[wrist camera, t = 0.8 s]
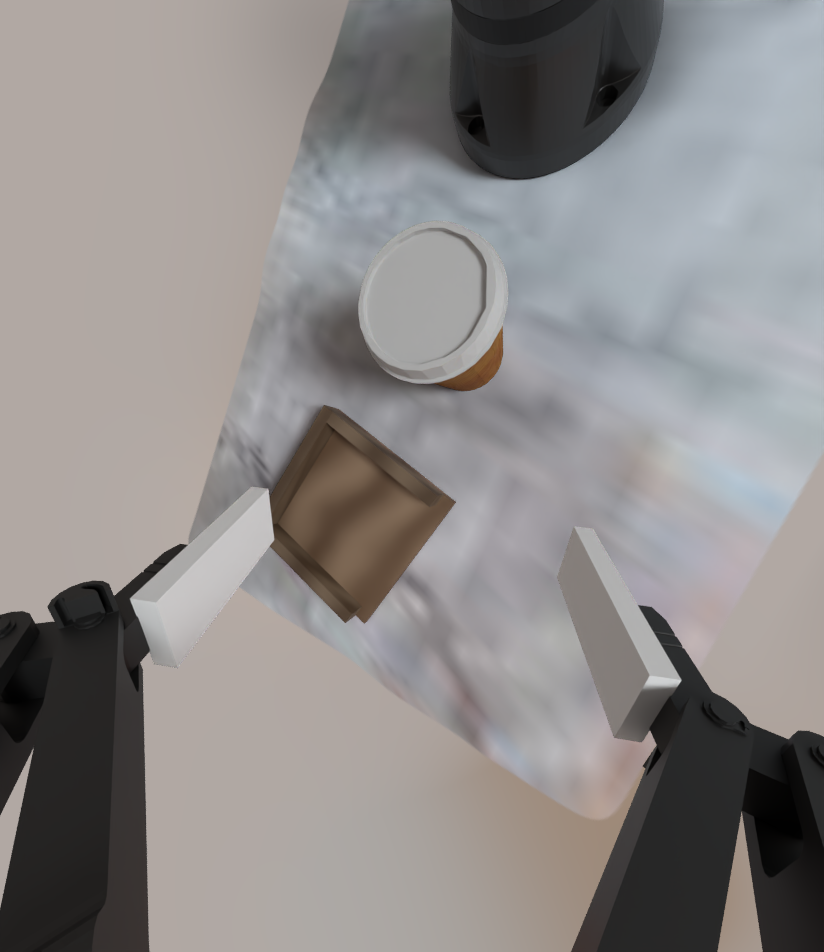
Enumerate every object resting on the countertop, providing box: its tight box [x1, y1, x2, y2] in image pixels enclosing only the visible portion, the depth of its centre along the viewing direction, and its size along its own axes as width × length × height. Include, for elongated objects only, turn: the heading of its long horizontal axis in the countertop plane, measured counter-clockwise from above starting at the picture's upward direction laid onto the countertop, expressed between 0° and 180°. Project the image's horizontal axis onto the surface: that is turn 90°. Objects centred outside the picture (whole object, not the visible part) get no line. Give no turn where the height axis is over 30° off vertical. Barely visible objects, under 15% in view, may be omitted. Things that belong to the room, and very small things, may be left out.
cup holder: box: [269, 405, 456, 623], centre depth 36 cm, size 15×15×3 cm
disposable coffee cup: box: [358, 221, 508, 391], centre depth 27 cm, size 10×10×12 cm
